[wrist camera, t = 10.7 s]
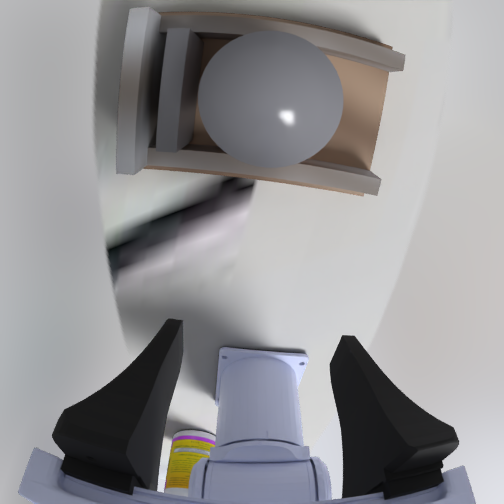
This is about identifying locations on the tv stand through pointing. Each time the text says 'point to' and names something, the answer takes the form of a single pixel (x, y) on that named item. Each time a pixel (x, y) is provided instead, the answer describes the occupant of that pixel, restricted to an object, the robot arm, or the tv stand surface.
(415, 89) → the tv stand surface
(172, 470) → the supplement bottle
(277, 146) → the jar
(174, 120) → the pusher plate
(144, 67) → the tray
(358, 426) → the robot arm
